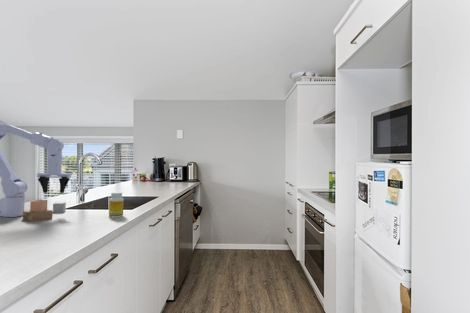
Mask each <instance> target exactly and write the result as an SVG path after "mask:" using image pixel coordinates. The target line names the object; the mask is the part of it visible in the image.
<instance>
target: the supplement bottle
mask: <svg viewBox="0 0 470 313" xmlns="http://www.w3.org/2000/svg"><path fill="white" fill-rule="evenodd" d="M110 195H111V196H110V198H109V200H108V202H109V203H108V217H109V218H114V219H115V218H122V217H124V202H125V200H124V197H123V192H121V191H115V192H113V191H112V192H111V194H110Z"/></svg>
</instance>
